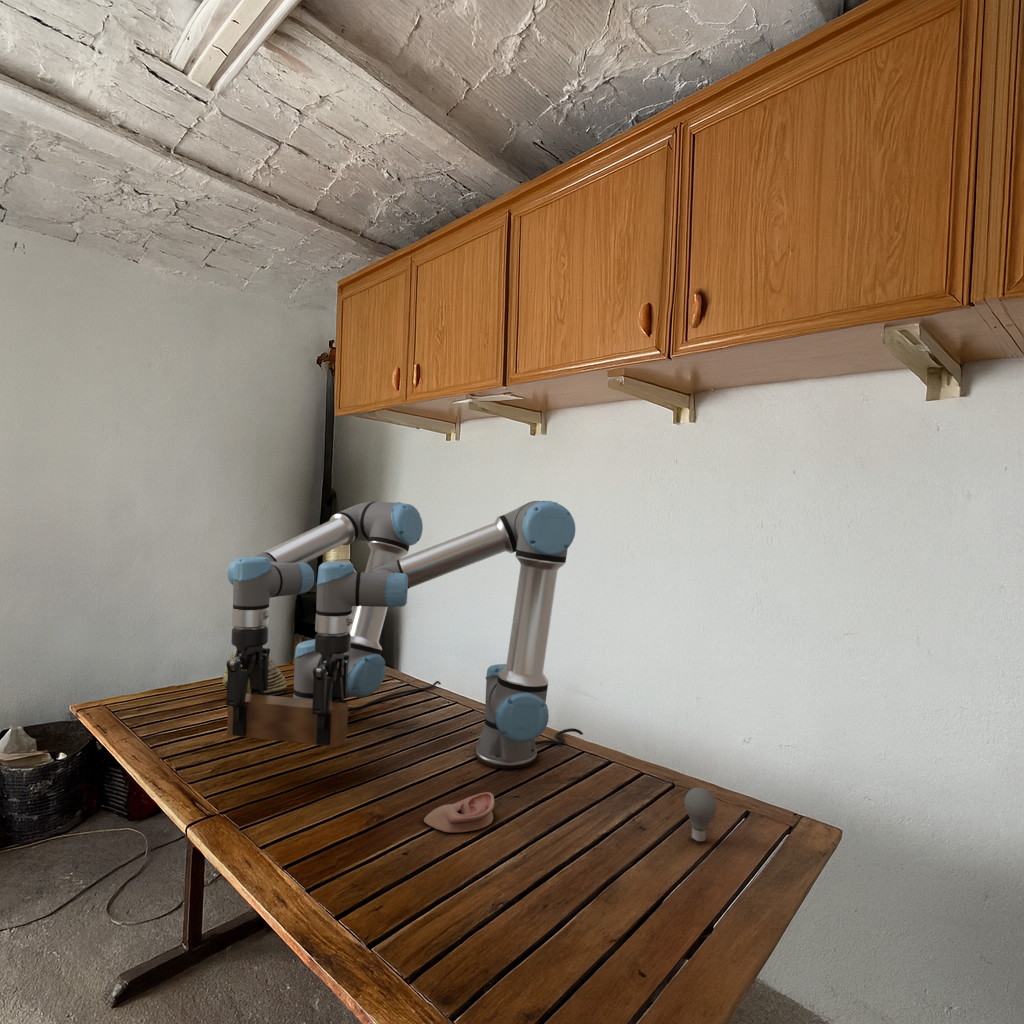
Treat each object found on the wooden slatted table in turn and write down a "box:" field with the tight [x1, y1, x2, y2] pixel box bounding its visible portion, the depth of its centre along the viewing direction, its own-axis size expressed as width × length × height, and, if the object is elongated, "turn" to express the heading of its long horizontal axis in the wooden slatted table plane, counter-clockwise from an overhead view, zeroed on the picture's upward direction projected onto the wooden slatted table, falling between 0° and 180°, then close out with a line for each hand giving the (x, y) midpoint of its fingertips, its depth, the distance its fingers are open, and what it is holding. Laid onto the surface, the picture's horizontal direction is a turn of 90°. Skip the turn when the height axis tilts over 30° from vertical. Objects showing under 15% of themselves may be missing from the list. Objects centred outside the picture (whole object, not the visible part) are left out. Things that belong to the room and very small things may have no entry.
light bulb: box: [683, 787, 718, 842], centre depth 123 cm, size 6×6×10 cm
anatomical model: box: [423, 791, 495, 834], centre depth 127 cm, size 13×4×12 cm
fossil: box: [222, 648, 288, 696], centre depth 198 cm, size 9×18×15 cm, turn 132°
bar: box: [226, 693, 349, 748], centre depth 140 cm, size 26×5×8 cm, turn 81°
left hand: (246, 729), depth 141 cm, fingers closed on bar, 5 cm apart
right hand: (329, 738), depth 138 cm, fingers closed on bar, 5 cm apart
